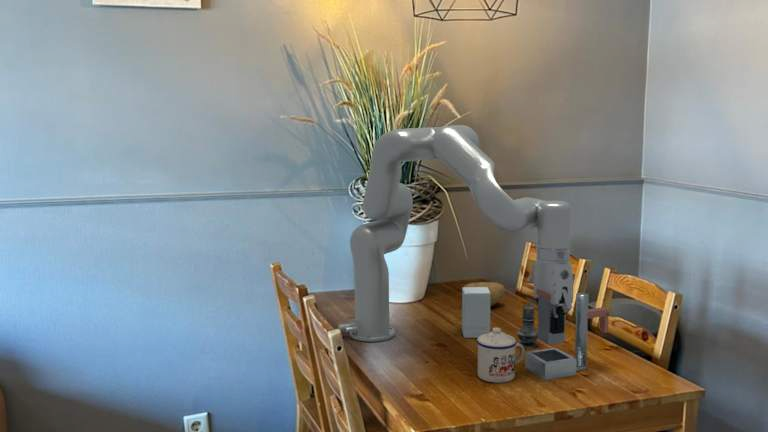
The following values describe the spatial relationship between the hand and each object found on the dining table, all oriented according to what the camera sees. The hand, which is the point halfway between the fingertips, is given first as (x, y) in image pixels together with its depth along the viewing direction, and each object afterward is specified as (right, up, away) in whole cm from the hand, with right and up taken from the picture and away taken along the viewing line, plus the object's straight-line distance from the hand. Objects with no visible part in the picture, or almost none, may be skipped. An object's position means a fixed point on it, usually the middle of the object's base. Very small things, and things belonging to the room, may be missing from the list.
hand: (551, 329), depth 168 cm
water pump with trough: (+5, -10, +4) cm, 12 cm away
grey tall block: (0, -3, 0) cm, 3 cm away
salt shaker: (-1, -8, +20) cm, 22 cm away
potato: (-8, -2, +57) cm, 57 cm away
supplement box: (-14, -6, +30) cm, 34 cm away
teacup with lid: (-12, -11, 0) cm, 16 cm away
